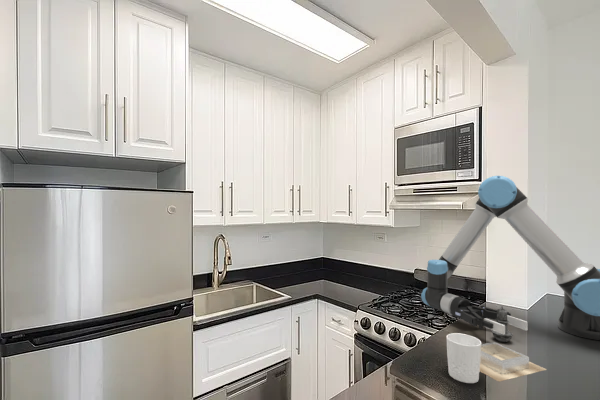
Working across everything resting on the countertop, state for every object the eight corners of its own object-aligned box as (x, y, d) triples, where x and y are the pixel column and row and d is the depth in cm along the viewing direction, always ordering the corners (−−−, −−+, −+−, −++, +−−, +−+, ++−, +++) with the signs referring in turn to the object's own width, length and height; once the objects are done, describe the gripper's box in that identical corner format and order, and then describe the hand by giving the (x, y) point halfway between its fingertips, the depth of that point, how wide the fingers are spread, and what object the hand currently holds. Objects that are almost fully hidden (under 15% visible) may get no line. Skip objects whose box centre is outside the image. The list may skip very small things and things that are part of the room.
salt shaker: (516, 348, 98) (516, 309, 98) (495, 346, 99) (495, 308, 100) (508, 340, 104) (508, 304, 104) (488, 338, 105) (488, 302, 105)
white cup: (450, 367, 85) (450, 330, 86) (483, 378, 80) (484, 338, 81) (442, 379, 79) (442, 339, 80) (477, 391, 74) (478, 349, 75)
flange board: (497, 349, 97) (497, 347, 97) (546, 372, 84) (546, 369, 84) (452, 358, 90) (452, 356, 90) (498, 384, 77) (498, 381, 77)
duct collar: (494, 352, 93) (494, 341, 94) (528, 368, 84) (528, 357, 84) (469, 357, 90) (469, 346, 90) (502, 374, 81) (502, 362, 81)
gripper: (478, 313, 122) (539, 335, 101) (433, 319, 115) (490, 345, 94) (478, 294, 123) (539, 312, 102) (433, 298, 115) (490, 319, 94)
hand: (515, 328), depth 98 cm, fingers open, 9 cm apart
